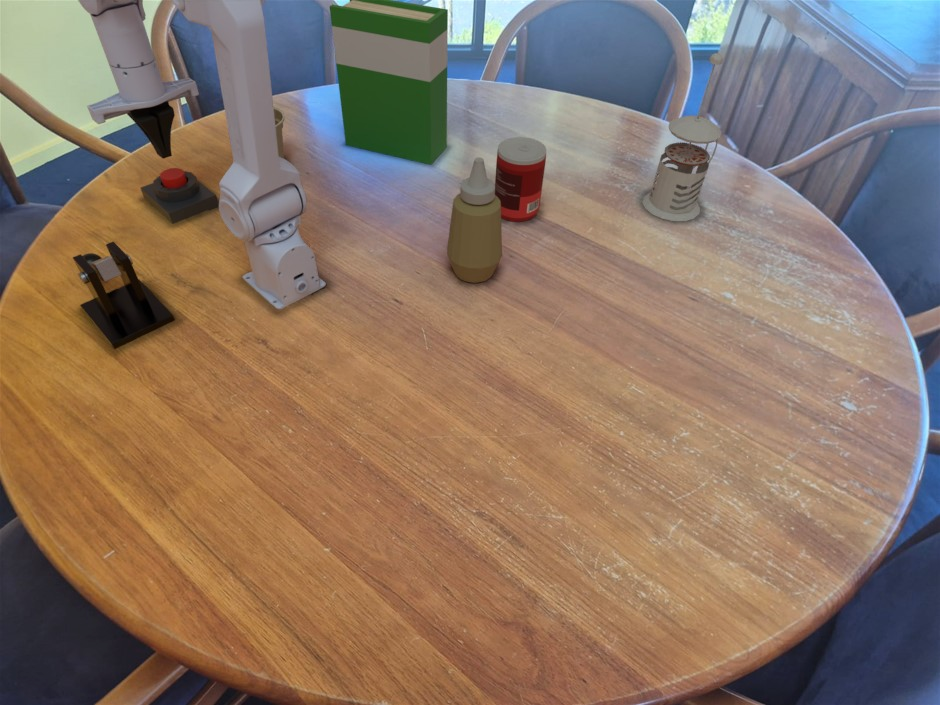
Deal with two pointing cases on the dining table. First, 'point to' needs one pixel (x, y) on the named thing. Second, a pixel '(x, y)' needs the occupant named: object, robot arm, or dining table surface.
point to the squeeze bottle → (475, 227)
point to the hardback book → (392, 76)
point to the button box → (180, 198)
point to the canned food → (519, 177)
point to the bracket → (121, 302)
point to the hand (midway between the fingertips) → (164, 154)
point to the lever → (103, 266)
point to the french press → (683, 166)
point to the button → (173, 178)
